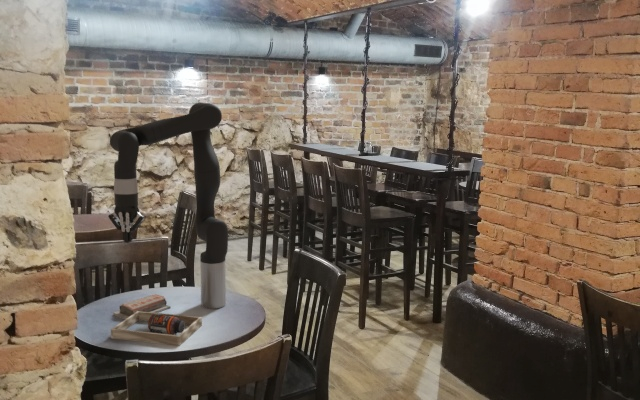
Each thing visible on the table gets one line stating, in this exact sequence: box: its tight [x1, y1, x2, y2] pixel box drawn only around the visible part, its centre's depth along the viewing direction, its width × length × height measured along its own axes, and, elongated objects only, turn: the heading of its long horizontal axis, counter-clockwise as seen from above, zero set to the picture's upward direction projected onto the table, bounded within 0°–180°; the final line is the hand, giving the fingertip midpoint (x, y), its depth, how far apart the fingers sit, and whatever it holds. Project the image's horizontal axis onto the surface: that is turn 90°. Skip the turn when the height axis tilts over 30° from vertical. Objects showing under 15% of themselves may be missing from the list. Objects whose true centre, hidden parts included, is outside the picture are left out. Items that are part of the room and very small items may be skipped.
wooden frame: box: [110, 311, 203, 346], centre depth 215 cm, size 18×24×3 cm
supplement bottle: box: [147, 314, 186, 335], centre depth 213 cm, size 6×6×11 cm
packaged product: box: [112, 293, 171, 320], centre depth 234 cm, size 18×5×10 cm
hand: (127, 242), depth 216 cm, fingers closed
